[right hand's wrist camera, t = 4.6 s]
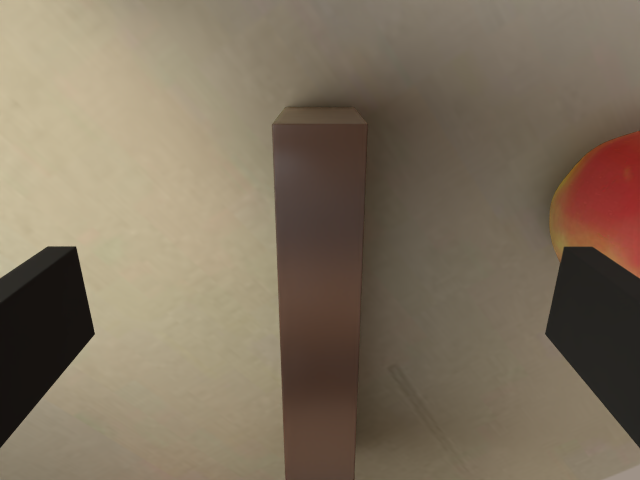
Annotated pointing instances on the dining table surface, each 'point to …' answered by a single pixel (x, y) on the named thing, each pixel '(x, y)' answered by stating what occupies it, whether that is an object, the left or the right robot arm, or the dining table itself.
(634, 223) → the apple
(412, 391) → the dining table surface
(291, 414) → the walnut beam
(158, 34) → the dining table surface
